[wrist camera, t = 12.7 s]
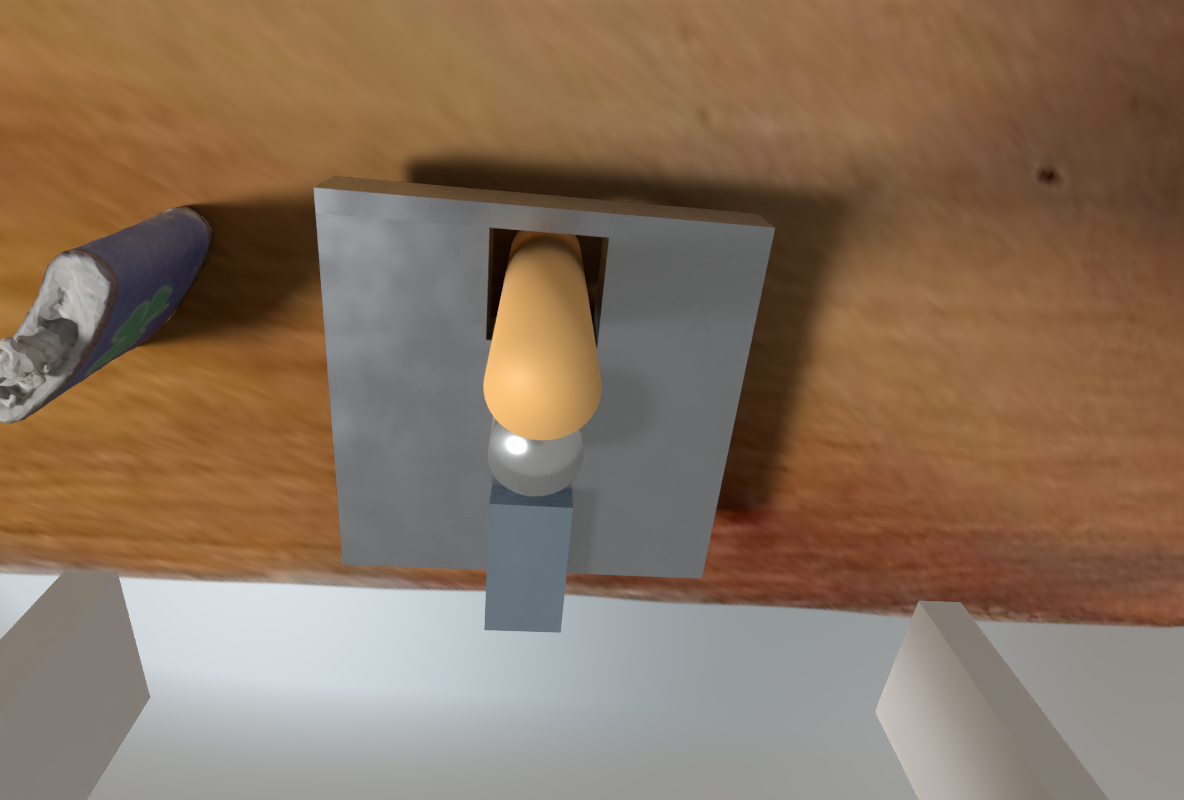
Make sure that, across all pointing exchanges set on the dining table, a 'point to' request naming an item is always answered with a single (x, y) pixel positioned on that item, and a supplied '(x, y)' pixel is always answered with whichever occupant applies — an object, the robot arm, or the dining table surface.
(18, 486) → the dining table surface
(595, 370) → the light orange cylinder
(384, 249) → the grey plate
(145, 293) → the flask
